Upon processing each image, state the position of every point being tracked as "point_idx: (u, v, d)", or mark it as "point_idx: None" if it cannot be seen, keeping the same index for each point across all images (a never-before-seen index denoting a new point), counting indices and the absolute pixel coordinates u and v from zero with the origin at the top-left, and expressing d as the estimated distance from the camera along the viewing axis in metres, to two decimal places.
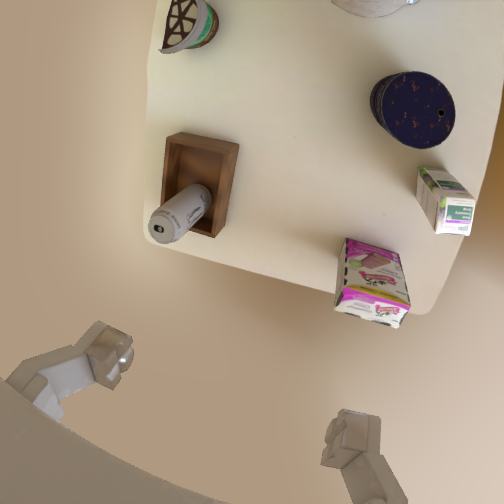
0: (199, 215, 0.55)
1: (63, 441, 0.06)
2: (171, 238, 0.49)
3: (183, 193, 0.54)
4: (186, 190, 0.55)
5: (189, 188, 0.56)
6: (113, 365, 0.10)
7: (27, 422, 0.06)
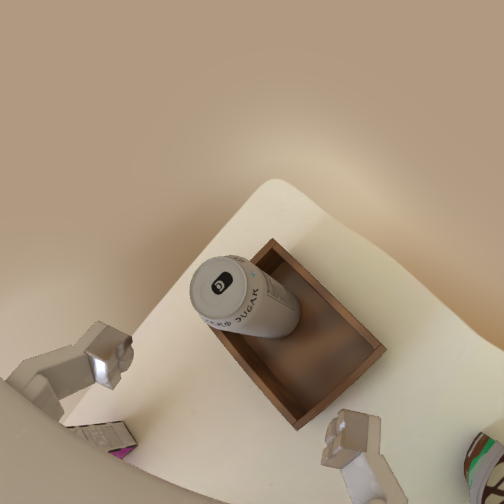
0: None
1: (63, 441, 0.06)
2: (194, 296, 0.24)
3: (281, 322, 0.30)
4: (286, 322, 0.31)
5: (289, 323, 0.32)
6: (113, 365, 0.10)
7: (27, 422, 0.06)
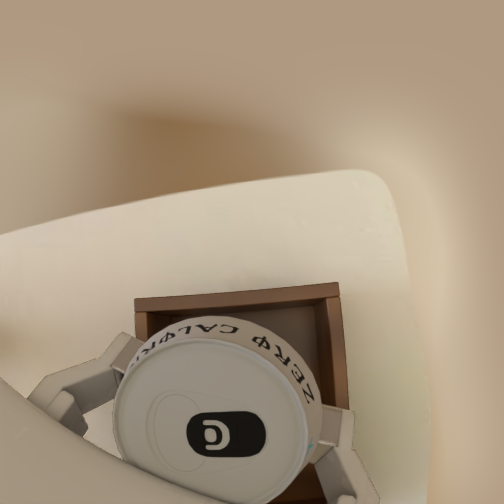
0: None
1: (63, 441, 0.06)
2: (130, 399, 0.07)
3: None
4: None
5: None
6: None
7: (27, 422, 0.06)
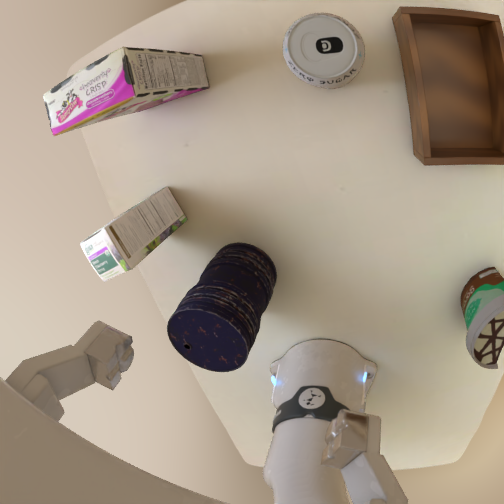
0: None
1: (63, 441, 0.06)
2: (293, 38, 0.18)
3: None
4: None
5: None
6: (113, 365, 0.10)
7: (27, 422, 0.06)
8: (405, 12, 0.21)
